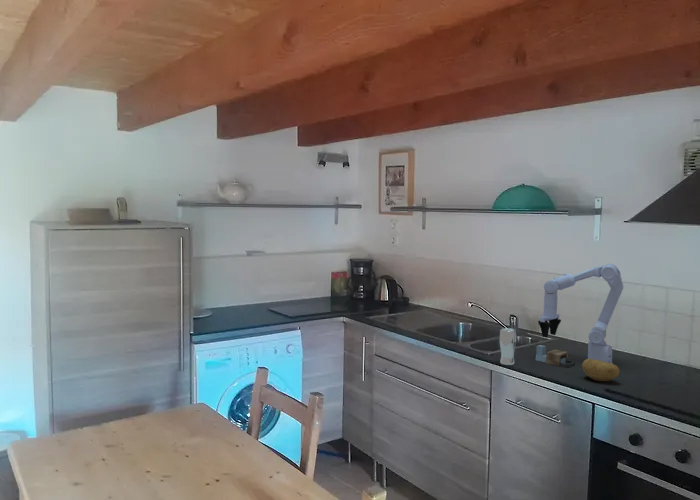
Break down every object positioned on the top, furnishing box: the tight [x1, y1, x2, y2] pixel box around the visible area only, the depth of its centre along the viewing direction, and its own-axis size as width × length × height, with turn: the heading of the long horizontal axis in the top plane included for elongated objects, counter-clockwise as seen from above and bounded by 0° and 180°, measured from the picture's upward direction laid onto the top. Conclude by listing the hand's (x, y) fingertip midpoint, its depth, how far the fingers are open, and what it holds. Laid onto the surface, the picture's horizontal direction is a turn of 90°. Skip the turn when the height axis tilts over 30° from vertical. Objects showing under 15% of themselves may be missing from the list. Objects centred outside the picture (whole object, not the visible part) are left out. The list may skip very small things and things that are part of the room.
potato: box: [581, 358, 620, 382], centre depth 229 cm, size 10×14×8 cm
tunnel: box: [545, 349, 569, 367], centre depth 254 cm, size 6×8×5 cm
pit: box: [559, 359, 576, 368], centre depth 251 cm, size 3×7×1 cm, turn 134°
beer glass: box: [499, 327, 517, 366], centre depth 254 cm, size 7×7×15 cm
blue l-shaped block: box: [535, 344, 566, 364], centre depth 257 cm, size 12×4×6 cm, turn 44°
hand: (548, 335), depth 264 cm, fingers open, 7 cm apart
